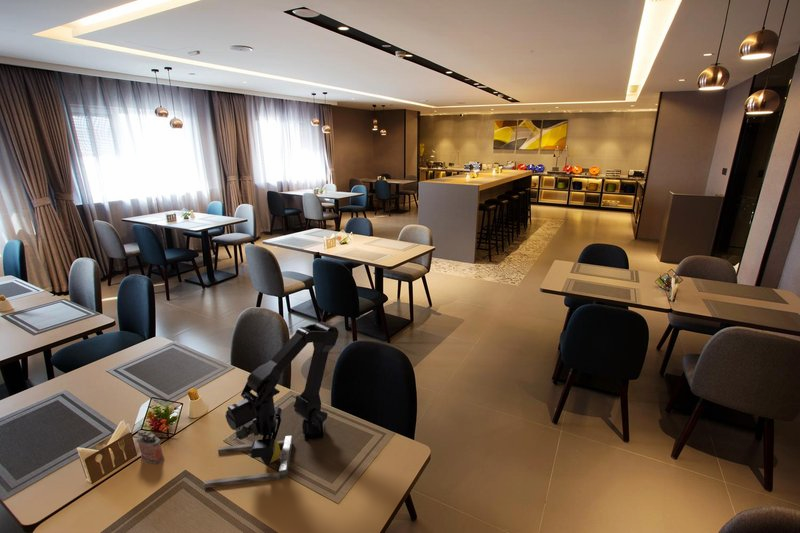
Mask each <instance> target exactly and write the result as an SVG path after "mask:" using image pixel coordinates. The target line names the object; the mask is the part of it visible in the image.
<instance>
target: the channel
mask: <svg viewBox="0 0 800 533" xmlns="http://www.w3.org/2000/svg"><path fill="white" fill-rule="evenodd" d="M284 437H285V438H284V439H283V440H276V441H277V442H278V444H279V447H280V448H281V447H282V452H281V457H280V462H279V467H278V468H279V469H278V471H276V472H267V473H260V474H259V473H257V474H250V475H248V474H247V475H242V476H241V475H240V476H233V477H225V478H224V477H223V478H216V479H215V478H214V479H207V480H204V482H203V486H204V489H207V488H208V489H209V488H215V487H223V486H224V487H225V486H226V487H227V486H232V485H240V484H251V483H258V482H259V483H260V482H265V481H275V480H276V481H277V480H284V479H287V478H288V473H289V467H290V461H291V456H292V455H291V454H292V447H293V435H286V436H284ZM252 444H253V443H246V444H245V443H244V444H235V445H226V446H218V449H217V453H218V454H219V455H220V454H227V453H228V454H229V453H237V452H246V451H250V450H251V447H252Z"/></svg>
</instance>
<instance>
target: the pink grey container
mask: <svg viewBox="0 0 800 533" xmlns="http://www.w3.org/2000/svg"><path fill="white" fill-rule="evenodd" d="M137 435H138V436H137V438H136V441H137V443H138V447H139V449H140V450H139V451H140V453H141V455H140V458H141V460H142V461H144V462H146V463H147V464H148V463H149V464H154V465H159V464H162V463H163V462H164V461H165V456H164V454H163V450H162V447H161V446H162V445H161V439H160V438H159V437H158V436H156V434H154V433H152V431H149V430H148V431H145V430H141V429H140V430H138V431H137Z"/></svg>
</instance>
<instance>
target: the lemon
mask: <svg viewBox="0 0 800 533" xmlns="http://www.w3.org/2000/svg"><path fill="white" fill-rule="evenodd" d="M274 441H275V451H274V454H273V457H272V459H271V462H270V464H271V463H273V462H275V461H277V460H278V459H279V456H280V454H281V449H280V448H281V447H279V444H278V442H277V441H278V440H276V439H275V440H274Z"/></svg>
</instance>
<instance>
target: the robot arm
mask: <svg viewBox="0 0 800 533" xmlns="http://www.w3.org/2000/svg"><path fill="white" fill-rule="evenodd" d="M338 337H339V330H338V328H337V327H336V326H335V325H334V326H333V325H331V324H329V323H327V322H325V321H319V322H317V323H311V324H308V325H306V326H301V327H298V328H296V331H295V333H294V334H293V335H292V336H291V337H290V339H289V340H288V341H287V342H286V343H285V344H284V345H283V346H282V347H281V348H280V349H279V350H278V351H277V353H275V354H274V356H273V357H272V358H270V360H269V361H268V362H266V363H264V364H261V365H259V366H258V367H257V368H256V369H254V370H253V371H252V372H251V373H250V374H249V375H248V377H247V379H246V380H247V381H246V383H245V386H244V387H243V389H242V392H241V394H240V396H241V397H242V398H243V399H241V400H239V401H238V402H236V403H234V404H231V405H228V406H227V410H226V412H225V419H226V422H227V425H228V426H229V427H230V429H231V430H233V431H235V435H236V436H235V437H236V438H238V440H241V441H242V440H245V439H247V438H249V436H250V435H253V436H254V437H255V436H259V435H260V436H262V439H256V440H254V441H253V442H252V443H251V444H252V447H251V450H249V453H250V458H252V459H256V458H260V459H261V460H262V462H263V464H264V465H265V466H270V465H271V463H272V462H271V459H272V457H273V454H274V451H275V441H276V439H277V437H278V436H277V435H278V432H279V430H280V425H281V422H282V417H283V409H282V408H280V407H279V406H276V407H275V401H274V396H276V395H278V394H280V390H279V389H278V388H276V387H277V385H278V384H279V382H280V379H281V375H282V374H283V371H285V369H286V368H287V367H288V366H289V365H290V364H291V363H292V362H293V360H294V359H295V358H296V357H297V356H298V355H299V354H300V353H301V351H302V350H304V348H305V347H306V346H307V345H308V344H310V343H312V346H313V352H312V354H311V360H310V364H309V369H308V374H307V377H306V382H305V386H304V390H303V391H302V392H301V393H300V394H297V395H296V397H295V401H294V403H293V408H294V412H295V413H296V414H297V415H298V416H299V417H301V418H302V419H303V420H302V423H301V424H302V425H301V426H302V427H301V428H302V435H304V436H303V439H304V441H308V440H309V441H311V440H317V439H324V437H325V428H326V427H325V426H326V425H325V423H324V422H325V421H326V420H327V418H328V415H329V414H328V412H326V411H325V410H323V409H322V400H321V396H320V391H321V386H322V383H323V378H324V374H325V369H326V365H327V362H328V356H329V353H330V351H331V350H332V349H333V348H334V347H335V346H336V343H337V341H338V339H339V338H338ZM252 391H253V392H254V393H255V394H256V395H255V394H254V393H252ZM274 440H275V441H274ZM270 462H271V463H270Z"/></svg>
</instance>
